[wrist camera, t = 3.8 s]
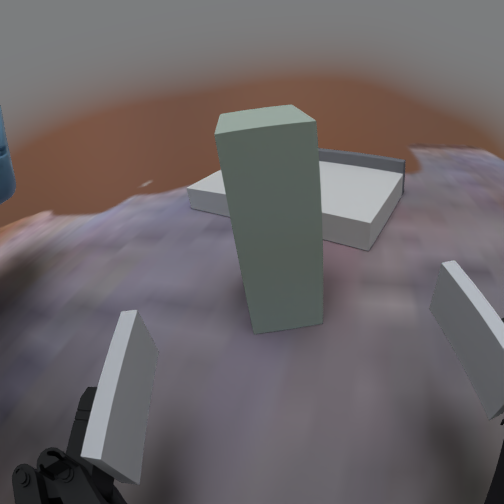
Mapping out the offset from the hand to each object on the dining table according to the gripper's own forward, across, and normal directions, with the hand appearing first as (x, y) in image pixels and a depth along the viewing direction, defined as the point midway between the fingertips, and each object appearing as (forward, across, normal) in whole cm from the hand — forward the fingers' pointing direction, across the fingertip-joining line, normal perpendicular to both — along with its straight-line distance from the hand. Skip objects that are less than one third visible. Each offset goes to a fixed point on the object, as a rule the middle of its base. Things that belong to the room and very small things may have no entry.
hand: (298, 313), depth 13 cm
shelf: (+27, +4, -8) cm, 28 cm away
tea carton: (+10, 0, -8) cm, 12 cm away
